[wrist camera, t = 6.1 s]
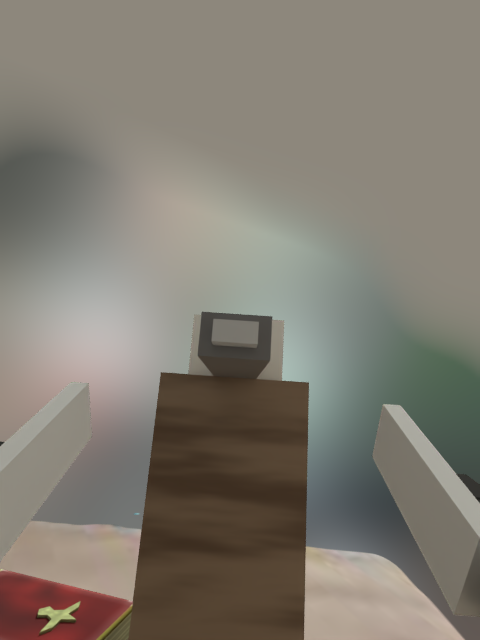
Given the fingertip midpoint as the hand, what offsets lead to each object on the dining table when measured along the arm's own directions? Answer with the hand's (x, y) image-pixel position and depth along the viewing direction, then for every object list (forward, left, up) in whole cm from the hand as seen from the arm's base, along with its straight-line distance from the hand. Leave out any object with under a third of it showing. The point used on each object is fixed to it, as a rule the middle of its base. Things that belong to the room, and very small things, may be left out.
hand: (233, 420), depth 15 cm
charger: (-7, +12, +3) cm, 14 cm away
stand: (-11, +19, -27) cm, 35 cm away
